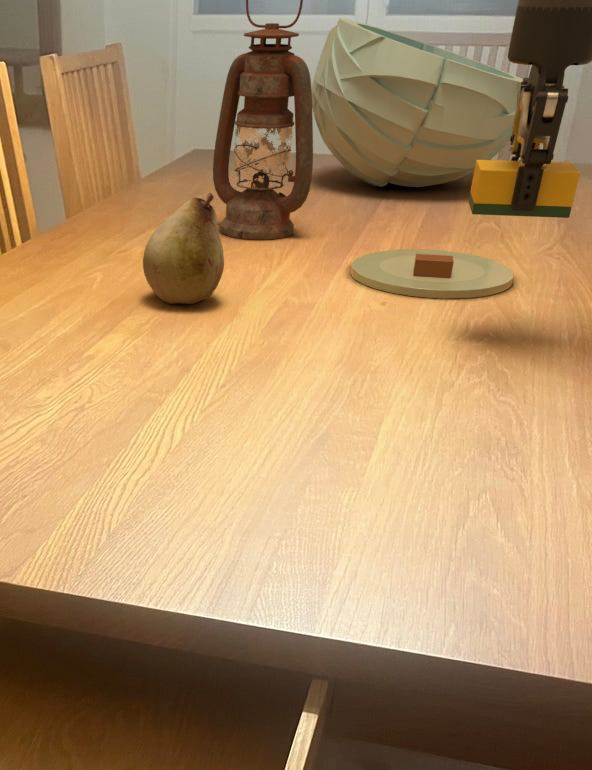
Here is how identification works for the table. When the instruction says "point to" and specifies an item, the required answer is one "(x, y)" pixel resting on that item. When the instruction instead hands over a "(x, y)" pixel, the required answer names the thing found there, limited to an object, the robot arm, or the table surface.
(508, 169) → the sponge
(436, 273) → the brown rectangular block
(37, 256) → the table surface
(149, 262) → the fruit
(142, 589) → the table surface
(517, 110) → the robot arm
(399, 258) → the plate
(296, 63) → the lantern
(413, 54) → the bowl
